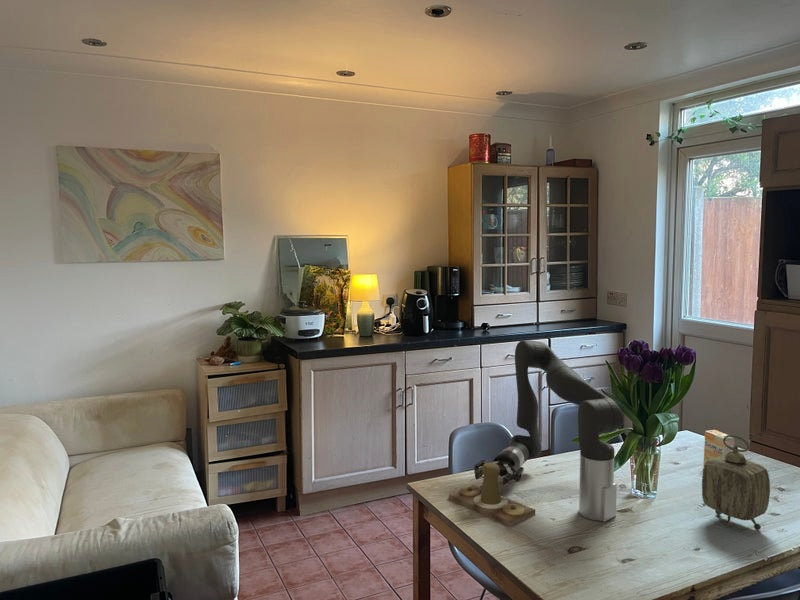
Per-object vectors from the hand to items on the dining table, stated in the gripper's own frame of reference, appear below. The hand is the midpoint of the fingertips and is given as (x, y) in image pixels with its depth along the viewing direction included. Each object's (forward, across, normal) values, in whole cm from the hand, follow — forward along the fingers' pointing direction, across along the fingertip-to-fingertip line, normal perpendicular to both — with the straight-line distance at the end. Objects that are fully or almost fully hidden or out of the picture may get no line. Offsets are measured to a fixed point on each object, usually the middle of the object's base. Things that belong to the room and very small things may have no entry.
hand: (490, 478), depth 174 cm
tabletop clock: (-22, +62, +9) cm, 66 cm away
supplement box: (-64, +57, +9) cm, 86 cm away
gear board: (0, 0, +9) cm, 9 cm away
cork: (-1, 0, +7) cm, 7 cm away
